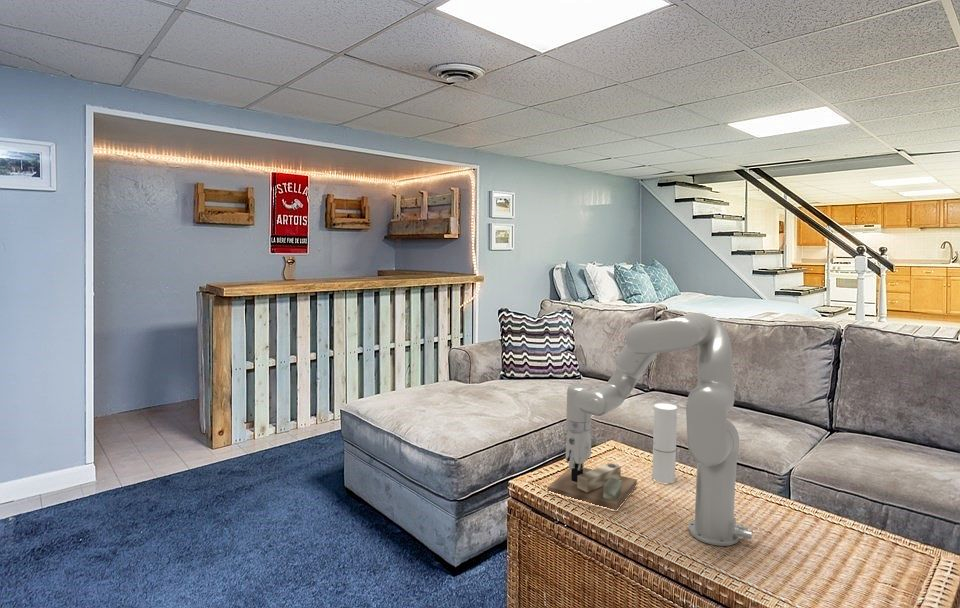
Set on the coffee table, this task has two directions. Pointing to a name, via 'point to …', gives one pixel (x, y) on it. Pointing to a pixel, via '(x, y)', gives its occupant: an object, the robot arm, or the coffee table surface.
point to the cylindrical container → (664, 442)
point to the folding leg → (598, 477)
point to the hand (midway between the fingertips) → (576, 480)
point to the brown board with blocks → (595, 490)
